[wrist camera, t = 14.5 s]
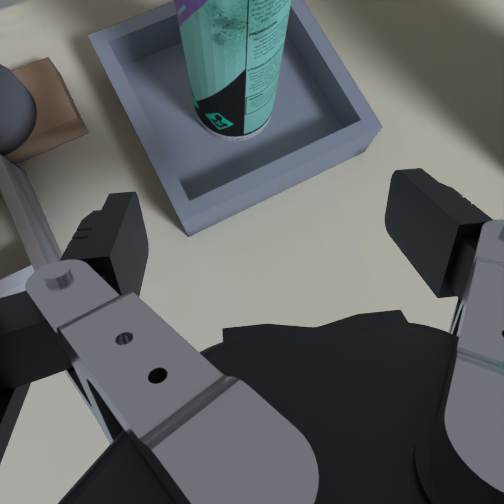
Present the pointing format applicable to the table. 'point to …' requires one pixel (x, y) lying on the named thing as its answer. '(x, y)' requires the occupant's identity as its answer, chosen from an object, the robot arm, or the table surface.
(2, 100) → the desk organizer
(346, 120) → the tray
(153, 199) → the table surface
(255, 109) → the spray can
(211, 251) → the table surface
